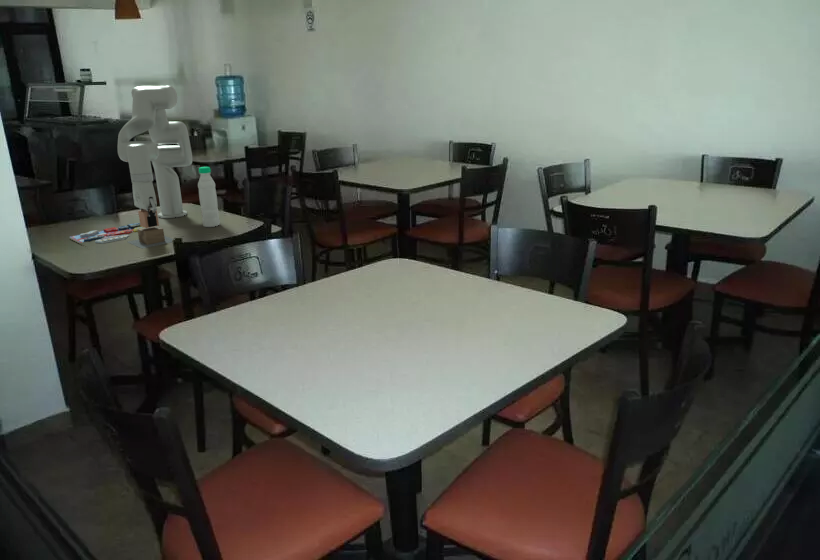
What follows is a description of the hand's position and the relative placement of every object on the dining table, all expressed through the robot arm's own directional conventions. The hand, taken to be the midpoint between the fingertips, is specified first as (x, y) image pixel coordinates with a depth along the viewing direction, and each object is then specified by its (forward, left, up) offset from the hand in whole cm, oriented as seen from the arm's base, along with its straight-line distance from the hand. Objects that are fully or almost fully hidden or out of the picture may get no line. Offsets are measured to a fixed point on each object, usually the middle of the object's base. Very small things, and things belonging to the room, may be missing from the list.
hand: (149, 224), depth 236 cm
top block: (0, 0, 0) cm, 0 cm away
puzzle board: (-22, -4, -8) cm, 24 cm away
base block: (0, 0, -7) cm, 7 cm away
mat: (0, 0, -8) cm, 8 cm away
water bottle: (-9, +30, -8) cm, 32 cm away
